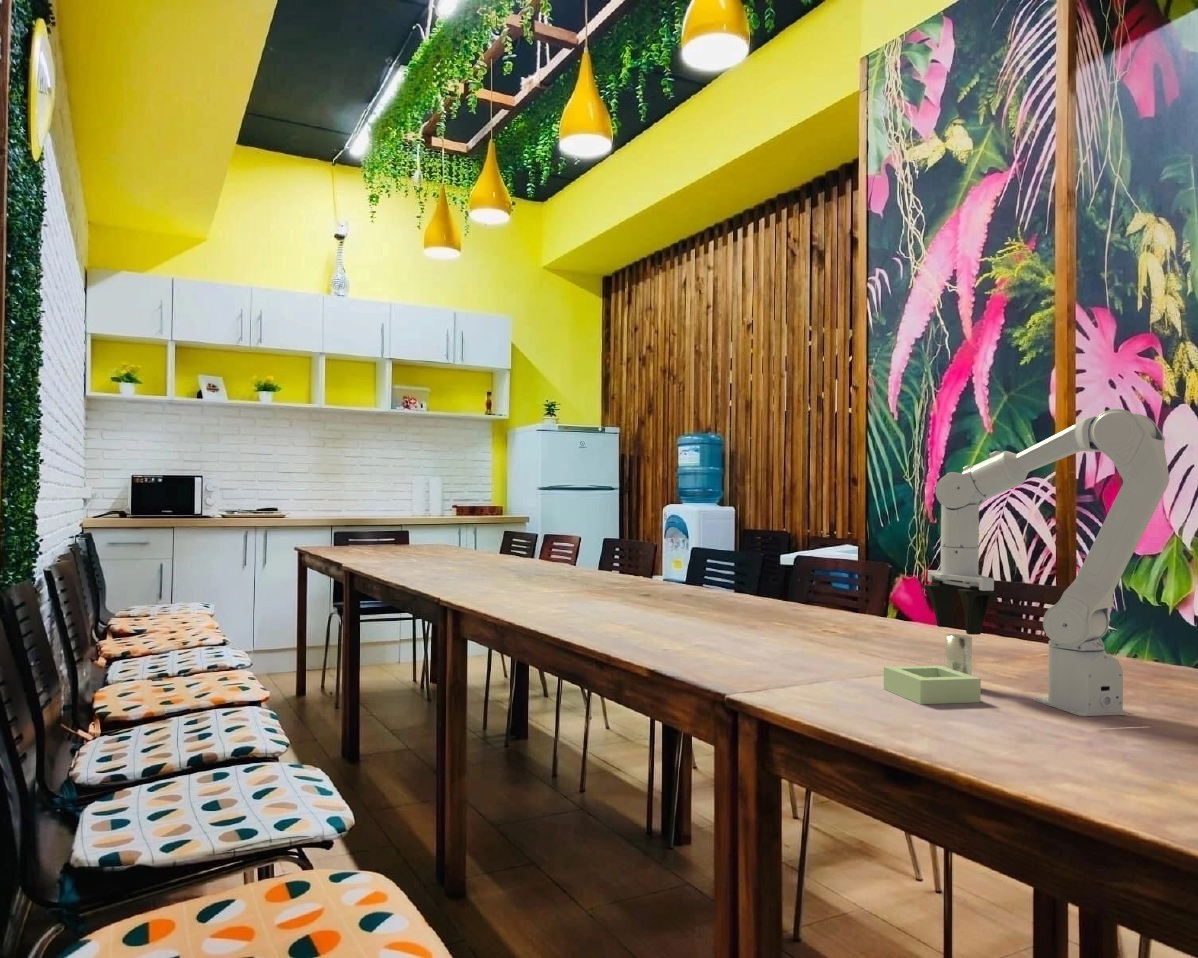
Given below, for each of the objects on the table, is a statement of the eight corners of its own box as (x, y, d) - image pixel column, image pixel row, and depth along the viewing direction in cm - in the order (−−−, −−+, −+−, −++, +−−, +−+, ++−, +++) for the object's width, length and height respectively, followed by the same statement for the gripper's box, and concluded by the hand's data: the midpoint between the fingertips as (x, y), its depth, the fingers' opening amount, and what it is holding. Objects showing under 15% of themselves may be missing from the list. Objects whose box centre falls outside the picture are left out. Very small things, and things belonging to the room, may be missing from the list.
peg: (976, 687, 136) (977, 638, 136) (954, 688, 135) (955, 638, 135) (961, 682, 140) (961, 634, 140) (939, 683, 139) (940, 634, 139)
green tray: (980, 702, 126) (980, 678, 126) (920, 704, 124) (920, 680, 124) (939, 687, 136) (940, 665, 136) (883, 688, 134) (883, 666, 134)
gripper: (912, 544, 144) (911, 623, 144) (966, 549, 130) (964, 638, 130) (948, 544, 146) (947, 623, 146) (1006, 550, 132) (1005, 637, 131)
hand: (958, 630), depth 138 cm, fingers open, 7 cm apart
